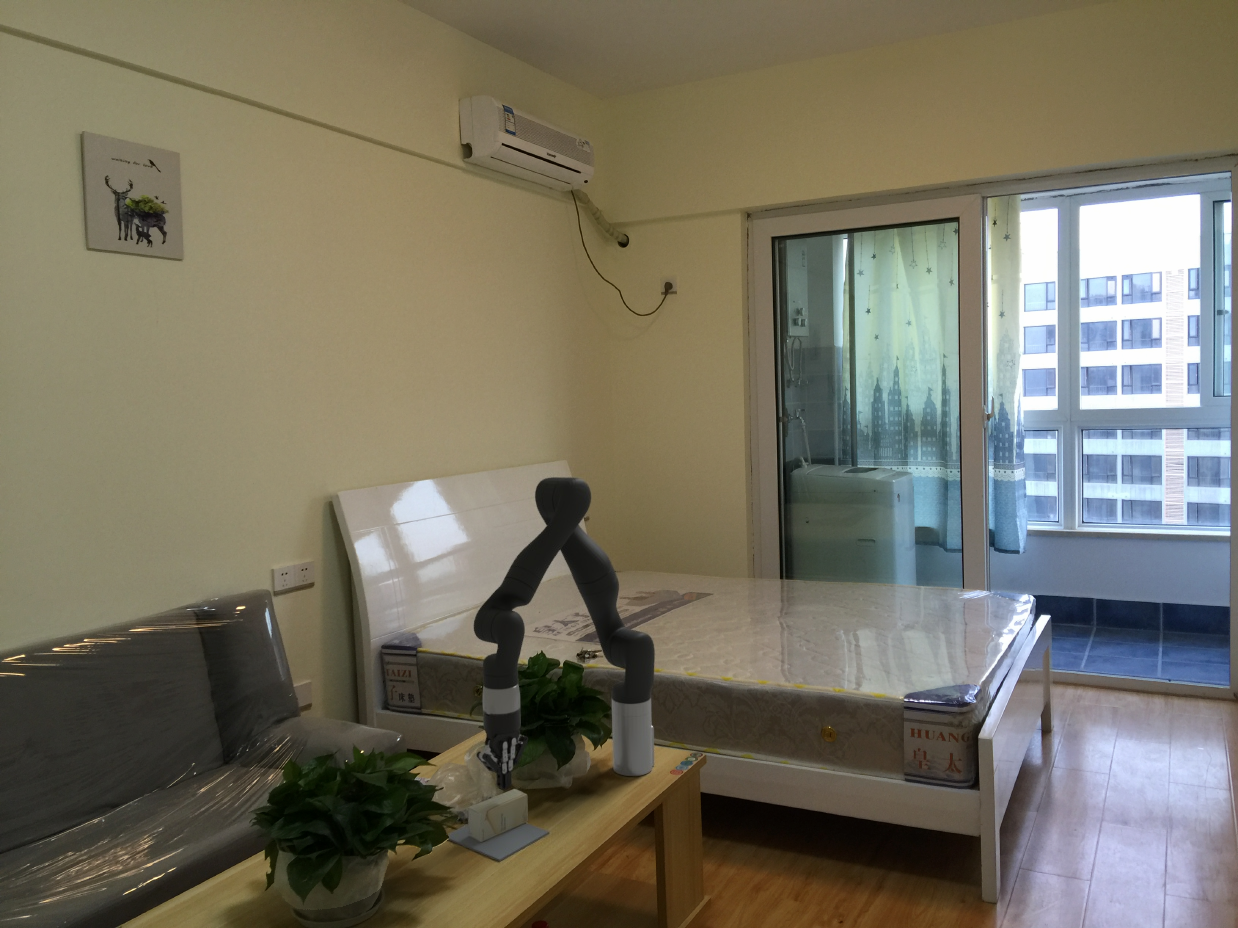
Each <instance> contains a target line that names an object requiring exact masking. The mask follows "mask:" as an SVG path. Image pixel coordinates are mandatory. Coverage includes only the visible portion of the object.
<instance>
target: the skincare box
mask: <svg viewBox="0 0 1238 928" xmlns="http://www.w3.org/2000/svg"><path fill="white" fill-rule="evenodd" d="M528 808H529V807H528V794H527V793H525V792H523V791H521V790H519V789H517V788H513V789H511V790H508V791H506V792H503V793H500V794H498V795H496V796H493V797H491V798H488V799H486V800H483V801H481V802H478V803H476V804H473V805H471V806H468V807H467V814H468V815H467V817H468V818H467V822H468V823H467V824H468V825H469V836H470V837H472V838H474V839H476V840H477V841H479V842H483V841H485V840H487V839H490V838H492V837H494V836H497V835H499V834H501V833H504V832H506V831H508V830H510V829H513V828H515V827H517V826H519V825H522V824H524V823H528V820H529V819H528V817H529V816H528V814H529V812H528V811H529V810H528Z"/></svg>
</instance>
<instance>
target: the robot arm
mask: <svg viewBox="0 0 1238 928" xmlns="http://www.w3.org/2000/svg"><path fill="white" fill-rule="evenodd" d="M534 499H535V500H534V501H535V504H536V505H535V506H536V508H537V511H538V513H539V515H540V517H541V518H542V520H543V522H544V523H545V525H546V526H545V527H544V529H543V530H542V531H541V532H540V533H539V534H538V535H537V536H536V537H535V538H534V539H533V540H531V541H530V542H529V543H528V545H527V544H526V546H525V547H524V548H523V549H521V551H520V552H519V553H518V555H517V556H516V557H515V559H514V560H513V562H512V563H511V565H510V567H509V569H508V571H507V573H506V574H505V577H504V578H503V580H502V582H501V584H500V585H499V586H498V588H497V589H495V590H494V591H493V592H492V593H491V595H490V596H489V597H488V598H487V599H486V601H485V602H484V603H483V604H482V605H481V606H480V607H479V609H478V610H477V612H476V615H475V616H474V620H473V631H474V635H475V636H476V638H477V639H478V640H480V641H482V642H486V643H490V644H496V645H497V647H496V648H497V649H496V652H495V653H491V654H489V655H487V656H485V657H484V659H483V662H482V682H483V683H482V684H483V686H482V713H483V714H482V718H483V720H482V722H483V730H484V731H485V735H486V736H485V740H484V748H482V750H481V751H479V750H478V751H477V752H476V758H477V759H478V760H479V761H480V762H481V764H482V765H483V766H484V767H485V768H486V769H487V770H488V771H489V772H491V773H494V774H496V786H497V788H498V789H499V790H501V791H507V790H509V789H511V788H512V787H511V785H512V781H513V780H512V779H513V778H512V770H513V768H514V767H515V766H518V765H519V763H520V761H521V758H522V756H523V754H524V751H525V748H526V747H527V744H528V741H529V737H528V736H526V735H522V734H521V731H520V729H521V725H522V723H521V719H522V718H521V694H520V693H521V692H520V687H519V668H518V667H519V666H518V665H519V659H520V656H521V651H522V647H523V644H524V643H523V642H524V638H525V633H526V632H525V631H526V629H525V622H524V619H523V617H522V616H521V614H520V613H519V612H517V611H514V609H516V608H518V607H525V606H528V605H529V604H530V603H531V601H532V600H533V598H534V597H535V594H536V592H537V590H538V588H539V587H540V584H541V582H542V580H543V578H544V576H545V574H546V572H547V571H548V569H549V567H550V566H551V564H552V562H553V561H554V559H555V558H556V557H557V555H558V553H559V552H561V554H562V557H563V558H564V561H565V563H566V565H567V567H568V569H569V570H570V573H571V575H572V578H573V580H574V583H575V586H576V587H577V590H578V592H579V593H580V596H581V598H582V600H583V602H584V605H585V607H586V610H587V611H588V613H589V617H590V618H591V621H592V623H593V626H594V628H595V632H596V635H597V639H598V641H599V645H600V647H601V651H602V653H603V655H604V658H605V659H606V661H607V662H608V663H609V664H611V665H612V666H613V667H617V668H620V669H622V670H624V671H625V672H624V680H620V681H618V682H616V683H614V684H613V685H612V687H611V720H612V721H611V723H612V724H611V725H612V726H611V727H612V732H611V733H612V770H613V771H614V772H615V773H616V774H618V775H622V776H625V777H626V776H627V777H637V776H643V775H646V774H648V773H650V772H651V771H652V770H653V767H654V766H655V727H654V726H653V725H652V724H653V723H652V689H653V687H654V680H655V656H656V655H655V654H656V653H655V651H656V650H655V644H654V640H653V639H652V636H650V634H648V633H646V632H643V631H640V630H639V631H638V630H635V629H631V628H628V627H626V624H624V622H623V620H622V618H621V616H620V613H619V611H618V609H617V603H618V597H619V591H620V582H619V578H618V575H617V573H616V571H615V569H614V566H613V564H612V561H611V560H610V557H609V556H608V554H607V553H606V552H605V550H603V549H602V547H601V546H600V545H599V544H598V543H597V542H596V541H595V540H594V539H593V538H592V537H591V536H589V535H588V533H586V532H585V531H584V529H582V527H581V526H580V523H581V522H582V520H583V519H584V518H585V516H586V515H587V512H588V511H589V509H590V506H591V503H592V491H591V488H590V486H589V484H588V483H587V482H586V481H585V480H584V479H582V478H577V477H570V476H569V477H566V476H565V477H563V476H561V477H560V476H559V477H558V476H556V477H555V476H553V477H546V478H543V479H542V480H540V481H539V482H538V483H537V485H536V487H535V491H534Z"/></svg>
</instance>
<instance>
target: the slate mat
mask: <svg viewBox="0 0 1238 928" xmlns="http://www.w3.org/2000/svg"><path fill="white" fill-rule="evenodd" d="M447 834H448V835H449V840H448V841H449V842H452V843H455V844H457V845H460V846H463V847H465V848H466V849H469V850H472V851H474V852H476V853H478V854H481V855H484V856H486V857H488V858H491V859H493V860H495V861H498V862H502V861H503V860H505V859H507V858H508V857H511V856H512V855H514V854H517V853H518V852H519V851H521V850H523V849H525V848H526V847H528V846H530V845H532V844H534V843H535V842H537V841H539V840H541V839H543V838H544V837H546V836H548V835H550V831H548V830H546V829H544V828H541V827H538V826H535V825H532V824H530V823H528V822H526V823H524V824H522V825H519V826H517V827H515V828H513V829H510V830H508V831H506V832H504V833H501V834H499V835H497V836H494V837H492V838H490V839H487V840H485V841H483V842H479V841H477V840H476V839H474V838H472V837H470V836H469V825H468V823H467V824H465V825H463V826H461V827H459V828H458V829H456V830H454V831H452V832H449V833H447Z"/></svg>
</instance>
